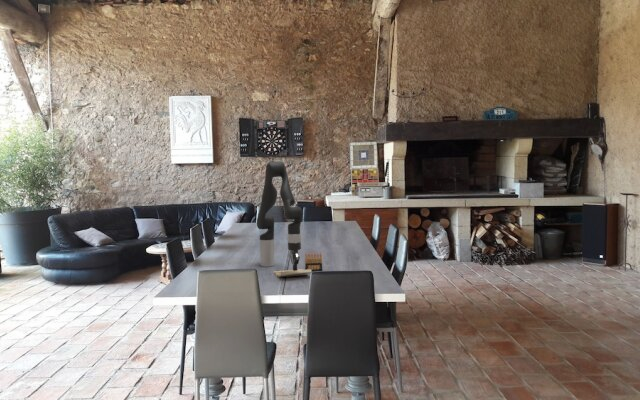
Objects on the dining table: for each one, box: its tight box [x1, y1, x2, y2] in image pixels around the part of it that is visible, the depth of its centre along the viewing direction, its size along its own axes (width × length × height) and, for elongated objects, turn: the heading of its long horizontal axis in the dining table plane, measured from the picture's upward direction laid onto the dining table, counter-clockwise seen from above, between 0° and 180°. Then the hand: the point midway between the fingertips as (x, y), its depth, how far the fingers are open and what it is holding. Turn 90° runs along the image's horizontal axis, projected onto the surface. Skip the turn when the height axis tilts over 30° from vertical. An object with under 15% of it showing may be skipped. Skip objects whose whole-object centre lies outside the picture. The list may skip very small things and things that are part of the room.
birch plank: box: [277, 269, 313, 278], centre depth 295 cm, size 10×18×2 cm, turn 108°
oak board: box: [273, 268, 304, 278], centre depth 304 cm, size 9×18×2 cm, turn 108°
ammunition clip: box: [304, 251, 323, 272], centre depth 312 cm, size 11×2×12 cm, turn 93°
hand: (295, 270), depth 293 cm, fingers closed
